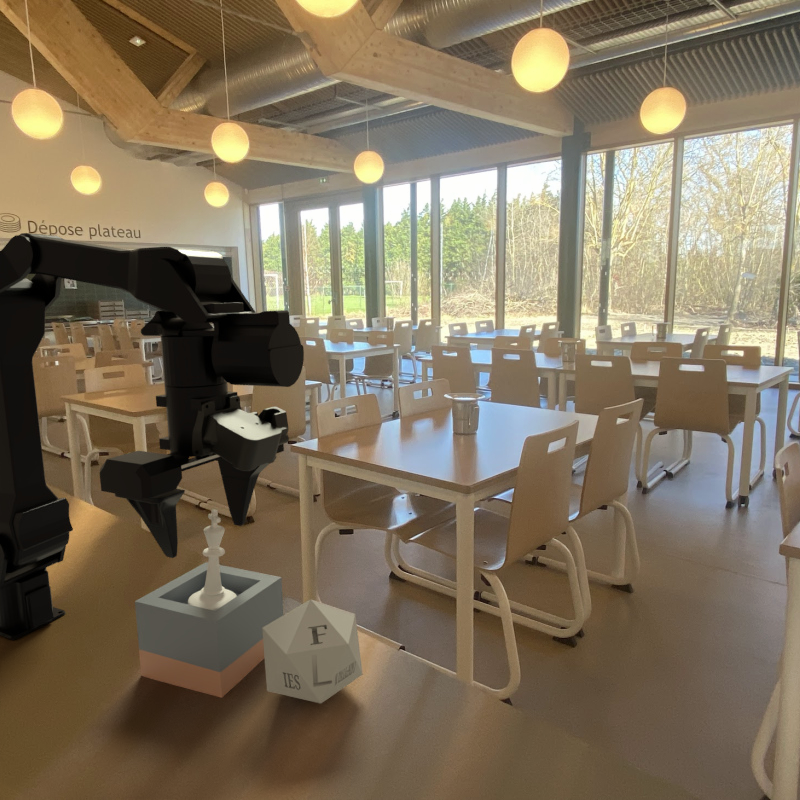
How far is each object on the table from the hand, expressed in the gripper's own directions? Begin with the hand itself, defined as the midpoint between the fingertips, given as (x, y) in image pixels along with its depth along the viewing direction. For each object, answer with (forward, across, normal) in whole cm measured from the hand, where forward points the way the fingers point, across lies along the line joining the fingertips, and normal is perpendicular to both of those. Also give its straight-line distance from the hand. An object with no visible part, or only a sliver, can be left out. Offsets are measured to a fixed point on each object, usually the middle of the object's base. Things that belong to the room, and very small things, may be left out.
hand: (207, 540), depth 64 cm
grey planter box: (+13, 0, 0) cm, 13 cm away
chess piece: (+7, 0, 0) cm, 7 cm away
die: (+13, -1, -13) cm, 19 cm away
